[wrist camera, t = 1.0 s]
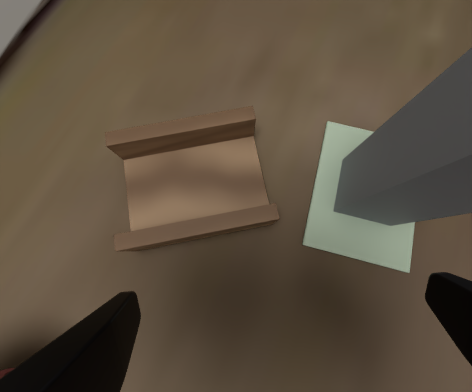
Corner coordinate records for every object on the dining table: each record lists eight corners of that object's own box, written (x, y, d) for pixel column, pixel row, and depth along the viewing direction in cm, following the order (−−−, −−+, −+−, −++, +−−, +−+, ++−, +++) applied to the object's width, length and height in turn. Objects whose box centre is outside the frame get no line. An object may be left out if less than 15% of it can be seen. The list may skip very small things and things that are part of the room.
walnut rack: (272, 224, 21) (279, 218, 18) (136, 251, 21) (115, 251, 17) (250, 128, 23) (252, 105, 20) (126, 151, 23) (105, 132, 19)
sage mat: (407, 272, 20) (409, 272, 20) (301, 244, 21) (302, 244, 21) (420, 144, 23) (423, 143, 23) (326, 122, 24) (327, 121, 23)
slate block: (390, 225, 21) (739, 169, 6) (333, 211, 21) (541, 125, 7) (397, 172, 22) (710, 19, 7) (342, 159, 22) (539, -13, 8)
